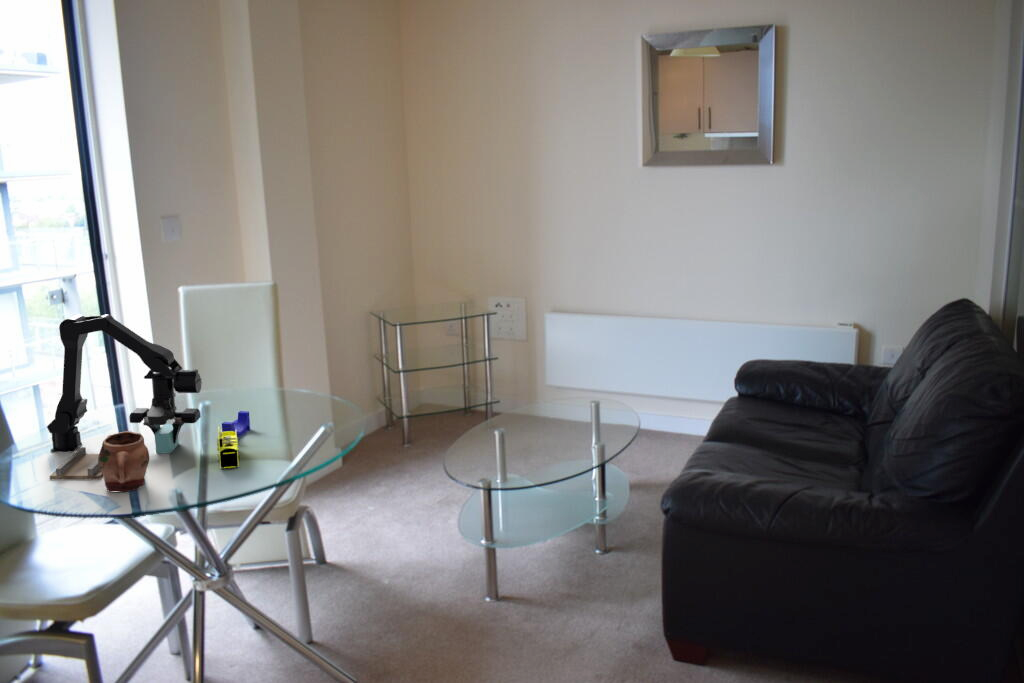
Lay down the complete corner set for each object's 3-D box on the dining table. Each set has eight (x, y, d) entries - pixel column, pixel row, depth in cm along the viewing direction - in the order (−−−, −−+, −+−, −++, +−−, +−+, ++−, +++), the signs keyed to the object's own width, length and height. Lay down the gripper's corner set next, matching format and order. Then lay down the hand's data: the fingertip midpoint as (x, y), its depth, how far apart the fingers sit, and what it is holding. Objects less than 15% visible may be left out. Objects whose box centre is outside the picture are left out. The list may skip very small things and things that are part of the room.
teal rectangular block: (156, 453, 252) (154, 433, 251) (165, 443, 260) (163, 424, 258) (170, 453, 252) (168, 433, 251) (178, 443, 260) (177, 424, 259)
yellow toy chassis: (218, 451, 255) (216, 424, 253) (238, 449, 257) (236, 423, 255) (218, 471, 241) (216, 443, 239) (240, 469, 242) (238, 441, 240)
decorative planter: (154, 499, 222) (149, 448, 218) (101, 507, 217) (96, 454, 213) (149, 471, 239) (145, 423, 236) (100, 477, 234) (95, 429, 231)
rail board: (49, 479, 232) (48, 468, 232) (75, 457, 248) (74, 447, 247) (99, 479, 233) (98, 468, 232) (122, 457, 249) (121, 447, 248)
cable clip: (236, 428, 275) (235, 410, 273) (250, 429, 274) (249, 411, 273) (218, 441, 263) (217, 423, 262) (232, 442, 263) (231, 424, 261)
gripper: (120, 400, 244) (124, 453, 247) (187, 401, 245) (191, 453, 248) (134, 389, 254) (138, 439, 258) (199, 389, 256) (202, 439, 259)
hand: (167, 443), depth 256 cm, fingers closed on teal rectangular block, 4 cm apart
